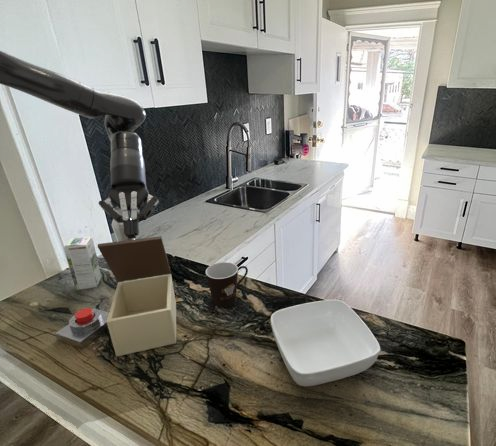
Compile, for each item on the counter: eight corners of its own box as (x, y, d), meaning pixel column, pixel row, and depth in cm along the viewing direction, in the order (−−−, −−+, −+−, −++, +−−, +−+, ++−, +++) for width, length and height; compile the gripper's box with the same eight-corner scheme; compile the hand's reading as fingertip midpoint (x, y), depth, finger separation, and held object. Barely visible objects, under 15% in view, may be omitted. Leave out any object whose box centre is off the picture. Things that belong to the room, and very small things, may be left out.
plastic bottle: (133, 256, 112) (122, 203, 104) (146, 261, 108) (135, 207, 101) (116, 264, 106) (102, 209, 99) (128, 270, 103) (115, 213, 95)
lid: (161, 238, 71) (161, 236, 71) (97, 246, 67) (97, 243, 67) (170, 273, 83) (170, 271, 84) (117, 282, 79) (117, 279, 80)
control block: (82, 349, 72) (77, 335, 70) (57, 340, 74) (52, 327, 73) (118, 321, 81) (115, 308, 79) (95, 314, 83) (91, 302, 81)
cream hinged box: (176, 343, 74) (170, 309, 70) (116, 356, 70) (106, 321, 66) (176, 303, 87) (171, 273, 84) (125, 313, 83) (118, 282, 80)
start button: (84, 325, 74) (82, 319, 73) (73, 321, 75) (71, 316, 74) (97, 316, 77) (96, 310, 76) (86, 312, 78) (85, 306, 77)
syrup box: (81, 280, 97) (69, 238, 92) (103, 277, 99) (92, 235, 93) (75, 290, 92) (62, 246, 87) (98, 287, 94) (86, 244, 88)
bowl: (340, 317, 83) (342, 293, 80) (385, 379, 66) (390, 351, 63) (265, 335, 77) (264, 310, 74) (293, 409, 59) (293, 380, 56)
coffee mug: (209, 312, 84) (205, 280, 80) (208, 293, 92) (205, 264, 88) (252, 305, 87) (250, 274, 83) (248, 288, 95) (246, 259, 91)
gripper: (92, 164, 71) (92, 235, 65) (155, 161, 75) (161, 227, 70) (102, 181, 78) (103, 246, 72) (159, 177, 82) (165, 239, 76)
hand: (131, 237), depth 71 cm, fingers closed
